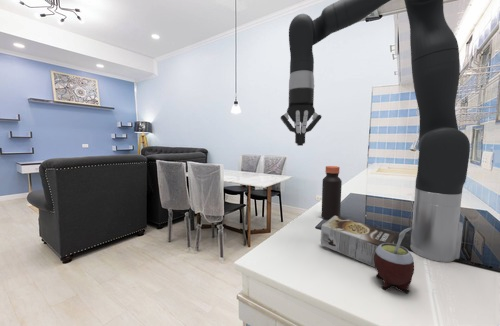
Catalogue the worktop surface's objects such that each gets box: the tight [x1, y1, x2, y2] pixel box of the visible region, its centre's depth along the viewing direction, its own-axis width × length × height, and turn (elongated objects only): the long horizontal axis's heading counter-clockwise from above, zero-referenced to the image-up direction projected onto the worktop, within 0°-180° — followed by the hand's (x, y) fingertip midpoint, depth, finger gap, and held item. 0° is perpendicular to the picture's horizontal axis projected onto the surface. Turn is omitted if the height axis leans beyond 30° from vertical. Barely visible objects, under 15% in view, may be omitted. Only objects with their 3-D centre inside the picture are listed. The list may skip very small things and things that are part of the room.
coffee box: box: [319, 216, 397, 269], centre depth 59 cm, size 9×6×16 cm
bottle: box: [321, 165, 343, 221], centre depth 83 cm, size 7×7×20 cm
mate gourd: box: [374, 226, 415, 295], centre depth 45 cm, size 8×8×15 cm
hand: (299, 145), depth 69 cm, fingers closed
